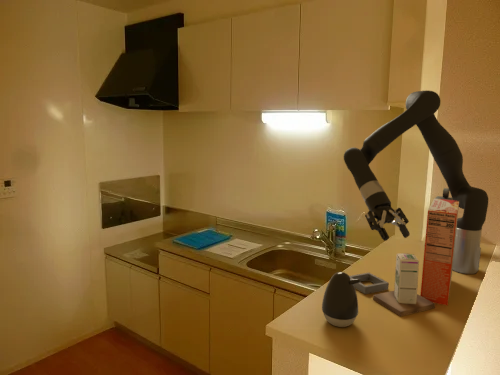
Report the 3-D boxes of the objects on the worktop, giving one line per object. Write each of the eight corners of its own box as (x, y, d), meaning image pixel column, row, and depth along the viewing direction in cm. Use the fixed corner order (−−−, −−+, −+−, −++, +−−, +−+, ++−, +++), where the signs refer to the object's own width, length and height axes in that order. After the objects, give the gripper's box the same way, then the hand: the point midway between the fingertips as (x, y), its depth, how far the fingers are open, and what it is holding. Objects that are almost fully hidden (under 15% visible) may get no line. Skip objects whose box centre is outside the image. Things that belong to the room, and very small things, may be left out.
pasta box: (427, 275, 144) (434, 198, 139) (451, 280, 140) (459, 200, 135) (420, 299, 125) (427, 210, 120) (447, 305, 121) (456, 213, 116)
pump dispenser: (352, 335, 103) (355, 283, 100) (315, 325, 108) (317, 274, 106) (362, 319, 111) (365, 270, 109) (328, 310, 117) (330, 263, 114)
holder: (368, 278, 141) (369, 272, 141) (388, 289, 132) (388, 282, 132) (346, 282, 137) (346, 276, 137) (364, 294, 128) (365, 287, 128)
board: (405, 292, 130) (405, 288, 130) (434, 307, 119) (435, 303, 119) (373, 299, 124) (373, 295, 124) (400, 316, 114) (400, 311, 113)
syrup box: (416, 304, 118) (420, 260, 115) (397, 303, 119) (400, 258, 116) (411, 296, 123) (415, 253, 121) (392, 295, 124) (396, 252, 122)
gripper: (363, 192, 125) (386, 234, 117) (396, 189, 131) (420, 230, 122) (352, 204, 131) (373, 246, 123) (384, 201, 137) (407, 241, 128)
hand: (397, 238), depth 122 cm, fingers open, 8 cm apart
